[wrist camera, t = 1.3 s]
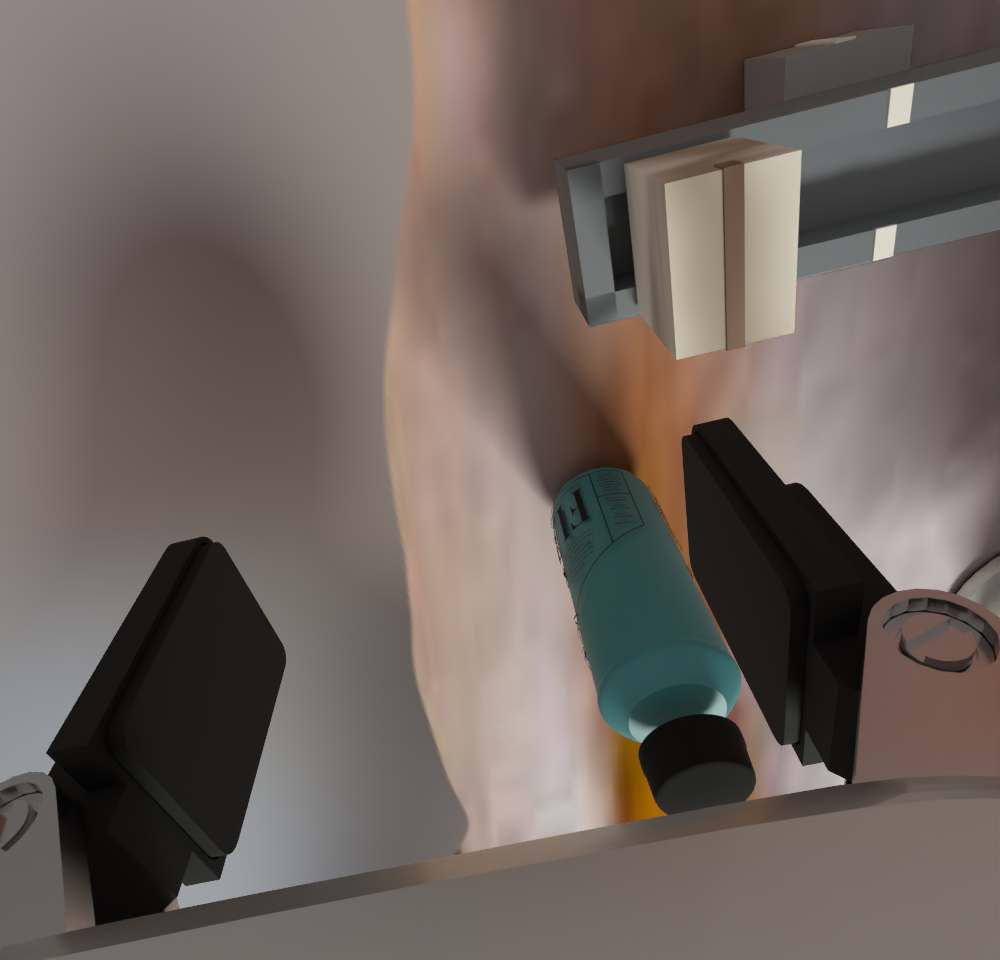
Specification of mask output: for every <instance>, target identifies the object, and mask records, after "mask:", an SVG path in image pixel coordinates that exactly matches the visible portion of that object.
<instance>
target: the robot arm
mask: <svg viewBox="0 0 1000 960" xmlns="http://www.w3.org/2000/svg"><path fill="white" fill-rule="evenodd" d="M682 455H683V470H684V484H685V499H686V513H687V528H688V542H689V556H690V563H691V567H692V571H693V574H694V576H695V579H696V581H697V583H698V585H699V587H700V589H701V591H702V593H703V595H704V597H705V599H706V601H707V603H708V605H709V607H710V609H711V611H712V613H713V615H714V617H715V619H716V621H717V623H718V625H719V627H720V629H721V631H722V633H723V635H724V637H725V639H726V641H727V643H728V645H729V647H730V649H731V651H732V653H733V655H734V657H735V659H736V661H737V663H738V665H739V667H740V669H741V671H742V673H743V675H744V677H745V679H746V681H747V683H748V685H749V687H750V689H751V691H752V693H753V695H754V697H755V699H756V701H757V703H758V705H759V707H760V709H761V711H762V713H763V715H764V717H765V719H766V721H767V723H768V725H769V727H770V729H771V731H772V733H773V735H774V737H775V739H776V740H777V742H778V743H779V744H780V745H787V744H791V745H792V746H793V748H794V750H795V752H796V754H797V756H798V758H799V760H800V762H801V764H802V766H805V765H811V764H816V763H821V762H824V764H825V766H826V767H827V769H828V771H830V772H832V773H834V774H836V775H838V776H841V777H843V778H845V783H844V785H838V786H832V787H826V788H821V789H815V790H809V791H803V792H797V793H791V794H785V795H779V796H773V797H767V798H761V799H755V800H750V801H744V802H738V803H732V804H726V805H720V806H714V807H708V808H703V809H698V810H692V811H687V812H682V813H676V814H671V815H666V816H660V817H655V818H650V819H644V820H639V821H634V822H628V823H623V824H617V825H612V826H607V827H601V828H596V829H591V830H585V831H580V832H575V833H569V834H564V835H559V836H553V837H548V838H543V839H537V840H532V841H527V842H521V843H516V844H511V845H505V846H500V847H495V848H490V849H485V850H479V851H474V852H469V853H464V854H459V855H453V856H448V857H443V858H438V859H433V860H427V861H422V862H417V863H412V864H406V865H401V866H396V867H391V868H386V869H380V870H375V871H370V872H365V873H360V874H355V875H350V876H344V877H339V878H334V879H329V880H324V881H319V882H314V883H308V884H303V885H298V886H293V887H288V888H283V889H278V890H272V891H267V892H263V893H257V894H252V895H247V896H242V897H238V898H232V899H227V900H222V901H217V902H212V903H207V904H202V905H197V906H192V907H187V908H182V909H179V906H178V901H177V898H176V897H177V896H178V893H179V890H180V887H181V884H182V883H183V884H184V885H185V886H188V885H193V884H198V883H203V882H209V881H214V880H219V879H220V877H221V874H222V870H223V867H224V863H225V859H226V856H227V854H230V853H232V852H233V851H234V849H235V847H236V845H237V842H238V839H239V836H240V832H241V828H242V825H243V820H244V817H245V814H246V810H247V806H248V802H249V798H250V795H251V791H252V787H253V784H254V780H255V777H256V773H257V769H258V765H259V761H260V758H261V754H262V750H263V746H264V743H265V739H266V736H267V732H268V728H269V725H270V721H271V717H272V714H273V710H274V706H275V702H276V698H277V695H278V691H279V688H280V684H281V680H282V676H283V672H284V669H285V665H286V654H285V649H284V647H283V644H282V643H281V641H280V639H279V638H278V636H277V634H276V633H275V631H274V629H273V628H272V626H271V624H270V623H269V621H268V619H267V618H266V616H265V614H264V613H263V611H262V609H261V608H260V606H259V604H258V603H257V601H256V599H255V598H254V596H253V594H252V592H251V591H250V589H249V587H248V586H247V585H246V583H245V581H244V579H243V577H242V576H241V574H240V573H239V571H238V569H237V568H236V566H235V564H234V562H233V561H232V559H231V558H230V556H229V555H228V553H227V551H226V549H225V548H224V546H223V545H222V544H220V543H218V542H215V543H213V542H212V540H210V539H209V538H207V537H199V538H195V539H191V540H186V541H181V542H177V543H173V544H171V545H169V546H168V547H167V549H166V550H165V552H164V554H163V555H162V557H161V559H160V560H159V562H158V564H157V566H156V567H155V569H154V571H153V572H152V574H151V576H150V577H149V579H148V581H147V583H146V584H145V586H144V588H143V589H142V591H141V593H140V594H139V596H138V598H137V599H136V601H135V603H134V604H133V606H132V608H131V610H130V611H129V613H128V615H127V616H126V618H125V620H124V622H123V623H122V625H121V627H120V628H119V630H118V632H117V633H116V635H115V637H114V638H113V640H112V642H111V644H110V645H109V647H108V649H107V650H106V652H105V654H104V655H103V657H102V659H101V661H100V662H99V664H98V666H97V667H96V669H95V671H94V672H93V674H92V676H91V678H90V679H89V681H88V683H87V684H86V686H85V688H84V690H83V691H82V693H81V695H80V696H79V698H78V700H77V702H76V703H75V705H74V706H73V708H72V710H71V712H70V713H69V715H68V717H67V718H66V720H65V722H64V724H63V725H62V727H61V729H60V730H59V732H58V734H57V735H56V737H55V739H54V740H53V742H52V744H51V745H50V747H49V749H48V751H47V752H46V753H47V754H48V755H49V756H50V757H51V758H52V759H53V760H54V761H55V764H54V765H53V767H52V769H51V771H50V773H49V774H48V775H46V774H45V773H43V772H28V773H25V774H21V775H18V776H14V777H12V778H10V779H8V780H6V781H4V782H2V783H0V960H1000V556H998V557H996V558H995V559H993V560H991V561H990V562H989V563H987V564H986V565H985V566H983V567H982V568H981V569H980V570H978V571H977V572H976V573H975V574H974V575H973V576H972V577H971V578H970V579H969V580H968V581H967V582H966V583H965V584H964V585H963V586H962V587H961V589H960V590H959V591H958V593H957V594H952V593H948V592H944V591H940V590H930V589H910V590H903V591H896V590H895V589H894V588H893V586H892V585H891V584H890V583H889V582H888V581H887V580H886V578H885V577H884V576H883V575H882V574H881V573H880V572H879V570H878V569H877V568H876V567H875V566H874V565H873V564H872V562H871V561H870V560H869V559H868V558H867V557H866V556H865V555H864V553H863V552H862V551H861V550H860V549H859V548H858V547H857V545H856V544H855V543H854V542H853V541H852V540H851V539H850V537H849V536H848V535H847V534H846V533H845V532H844V531H843V529H842V528H841V527H840V526H839V525H838V524H837V523H836V521H835V520H834V519H833V518H832V517H831V516H830V515H829V513H828V512H827V511H826V510H825V509H824V508H823V507H822V505H821V504H820V503H819V502H818V501H817V500H816V499H815V497H814V496H813V495H812V494H811V493H810V492H809V491H808V490H807V489H806V488H805V487H804V486H803V485H802V484H799V483H792V484H787V485H785V484H784V483H783V481H782V480H781V479H780V478H779V477H778V475H777V474H776V473H775V472H774V471H773V469H772V468H771V467H770V466H769V465H768V463H767V462H766V461H765V460H764V459H763V457H762V456H761V455H760V454H759V453H758V451H757V450H756V449H755V448H754V447H753V445H752V444H751V443H750V442H749V441H748V439H747V438H746V437H745V436H744V435H743V433H742V432H741V431H740V430H739V429H738V427H737V426H736V425H735V424H734V423H733V421H732V420H731V419H729V418H723V419H719V420H714V421H710V422H706V423H701V424H697V425H694V426H693V427H692V435H687V436H683V438H682Z"/></svg>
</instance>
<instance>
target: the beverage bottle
mask: <svg viewBox="0 0 1000 960" xmlns="http://www.w3.org/2000/svg"><path fill="white" fill-rule="evenodd" d="M648 486H649V485H648ZM651 493H652V492H651ZM651 493H650V491H649V489H648V488H647V486H646V485H645V484H644V483H643V482H642V481H641V480H640V479H639V478H637V477H636V476H635V475H633V474H632V473H630V472H628V471H625V470H623V469H619V468H613V467H602V468H595V469H591V470H588V471H585V472H583V473H581V474H579V475H577V476H575V477H574V478H572V479H571V480H570V481H568V482H567V483H566V484H565V485H564V486H563V487H562V489H561V490H560V492H559V493H558V495H557V497H556V500H555V502H554V504H553V505H554V508H553V507H552V508H553V516H552V517H553V528H555V531H554V534H555V532H556V536H557V538H556V536H555V537H554V538H555V539H554V540H556V539H557V540H558V542H557V541H556V542H555V544H557V543H558V545H559V547H558V546H557V547H556V548H557V549H559V548H560V550H559V552H561V553H560V554H561V556H560V557H559V560H560V561H561V557H562V560H563V566H564V568H563V569H564V573H563V574H564V576H565V578H566V580H567V581H568V583H567V582H566V583H567V584H568V585H569V586H568V588H570V593H571V596H572V600H573V604H574V608H575V612H576V615H575V617H576V616H577V621H578V622H577V623H576V622H575V623H576V624H577V627H578V625H579V628H580V629H579V628H578V630H580V632H581V636H582V640H583V643H582V644H583V645H584V647H583V649H584V648H585V651H584V653H585V657H588V659H587V660H588V661H589V664H590V667H589V668H591V669H590V670H591V672H592V676H593V680H594V684H595V687H596V691H597V695H598V706H599V710H600V713H601V715H602V717H603V719H604V720H605V722H606V723H607V724H608V725H609V726H610V727H611V728H612V729H613V730H615V731H616V732H618V733H619V734H621V735H623V736H625V737H627V738H629V739H631V740H634V741H636V742H639V743H641V746H640V748H639V760H640V764H641V767H642V770H643V773H644V775H645V777H646V778H647V781H648V783H649V786H650V789H651V792H652V794H653V797H654V800H655V802H656V803H657V805H658V807H659V808H660V809H661V810H662V811H663V812H665V813H666V814H668V815H671V814H676V813H682V812H687V811H692V810H698V809H703V808H708V807H714V806H720V805H726V804H732V803H738V802H744V801H745V800H746V799H747V798H748V797H749V796H750V795H751V793H752V792H753V790H754V787H755V784H756V778H755V772H754V769H753V766H752V763H751V761H750V758H749V755H748V752H747V748H746V743H745V741H744V738H743V736H742V733H741V731H740V729H739V727H738V726H737V725H736V724H735V723H734V722H733V721H731V720H729V719H728V718H726V717H727V715H728V714H729V712H730V711H731V710H732V708H733V706H734V705H735V703H736V701H737V698H738V696H739V693H740V690H741V674H740V670H739V668H738V665H737V664H736V662H735V660H734V659H733V657H732V656H731V655H730V653H729V651H728V649H727V647H726V645H725V643H724V641H723V639H722V637H721V635H720V633H719V631H718V629H717V627H716V625H715V623H714V621H713V619H712V617H711V615H710V613H709V611H708V609H707V607H706V605H705V603H704V601H703V599H702V597H701V595H700V593H699V591H698V589H697V587H696V585H695V583H694V581H693V578H692V577H691V576H692V575H690V574H692V573H689V572H690V571H688V570H689V569H688V567H687V565H686V563H685V561H684V559H683V557H682V555H681V553H680V551H679V549H678V547H677V545H676V543H675V541H674V539H675V538H674V539H673V537H674V536H675V534H674V536H673V537H672V535H673V534H672V535H671V533H672V532H671V533H670V531H671V530H672V528H671V530H670V531H669V529H670V528H669V529H668V527H669V525H668V524H667V525H668V527H667V525H666V523H667V522H668V521H667V520H665V521H667V522H666V523H665V521H664V519H665V518H666V517H665V516H664V515H665V514H664V513H663V514H661V513H662V512H663V511H662V509H661V508H659V509H661V510H660V511H662V512H661V513H660V511H659V509H658V507H660V505H659V506H658V507H657V505H658V504H657V502H658V501H657V502H656V503H655V501H656V500H655V501H654V499H655V498H656V497H655V498H654V499H653V497H654V496H653V497H652V495H653V494H652V495H651ZM656 504H657V505H656ZM551 512H552V511H551ZM662 515H663V517H665V518H664V519H663V517H662ZM666 519H667V518H666ZM551 525H552V522H551ZM673 533H674V532H673ZM553 536H554V535H553ZM677 544H678V541H677ZM679 546H680V545H679ZM681 550H682V548H681ZM557 552H558V550H557ZM559 552H558V556H559ZM560 564H561V562H560ZM690 570H691V569H690ZM575 617H574V619H575ZM580 632H579V634H580ZM581 636H580V638H581ZM578 637H579V636H578ZM581 642H582V641H581ZM581 650H582V649H581ZM586 654H587V656H586ZM585 657H584V658H585ZM585 660H586V659H585Z"/></svg>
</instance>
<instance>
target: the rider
mask: <svg viewBox="0 0 1000 960" xmlns="http://www.w3.org/2000/svg"><path fill="white" fill-rule="evenodd" d="M801 157H802V150H801V149H796V148H791V147H786V146H781V145H776V144H771V143H766V142H761V141H757V140H752V139H747V138H742V137H737V136H733V137H729V138H725V139H721V140H717V141H713V142H709V143H705V144H701V145H697V146H693V147H689V148H685V149H681V150H678V151H674V152H670V153H666V154H662V155H658V156H654V157H650V158H646V159H642V160H638V161H634V162H630V163H626V164H624V170H625V180H626V190H627V200H628V211H629V221H630V231H631V241H632V251H633V261H634V271H635V281H636V291H637V301H638V311H639V314H640V316H641V317H642V318H643V319H644V320H645V322H646V323H647V324H648V325H649V327H650V328H651V329H652V330H653V332H654V333H655V334H656V335H657V336H658V338H659V339H660V340H661V341H662V343H663V344H664V345H665V346H666V348H667V349H668V350H669V351H670V352H671V354H672V355H673V356H674V357H675V359H676V360H678V359H682V358H687V357H691V356H695V355H700V354H704V353H708V352H713V351H717V350H721V349H726V350H727V351H729V350H733V349H737V348H741V347H745V344H747V343H751V342H756V341H760V340H764V339H769V338H773V337H777V336H782V335H786V334H790V333H794V327H795V303H796V279H797V254H798V230H799V205H800V181H801Z"/></svg>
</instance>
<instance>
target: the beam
mask: <svg viewBox="0 0 1000 960" xmlns="http://www.w3.org/2000/svg"><path fill="white" fill-rule="evenodd" d="M914 30H915V24H909V25H900V26H892V27H883V28H874V29H865V30H857V31H853V32H850V33H846V34H842V35H838V36H834V37H830V38H826V39H818V40H811V41H807V42H804V43H800V44H796V45H795V47H791V48H788V49H784V50H780V51H776V52H772V53H768V54H764V55H760V56H757V57H753V58H749V59H745V60H744V101H745V111H743V112H739V113H735V114H731V115H728V116H724V117H720V118H716V119H712V120H708V121H704V122H700V123H696V124H692V125H688V126H684V127H680V128H676V129H672V130H668V131H664V132H660V133H656V134H653V135H649V136H645V137H641V138H637V139H633V140H629V141H625V142H621V143H617V144H613V145H609V146H605V147H601V148H597V149H593V150H589V151H585V152H581V153H577V154H574V155H570V156H566V157H562V158H558V159H554V160H553V164H554V170H555V177H556V183H557V189H558V196H559V202H560V209H561V215H562V222H563V228H564V235H565V241H566V247H567V254H568V260H569V267H570V273H571V280H572V286H573V293H574V299H575V302H576V304H577V306H578V307H579V309H580V311H581V313H582V314H583V316H584V318H585V320H586V321H587V323H588V325H589V327H592V326H596V325H600V324H605V323H609V322H613V321H617V320H622V319H626V318H630V317H634V316H638V315H640V314H639V311H638V301H637V291H636V281H635V271H634V261H633V251H632V241H631V231H630V221H629V211H628V200H627V190H626V180H625V170H624V164H626V163H630V162H634V161H638V160H642V159H646V158H650V157H654V156H658V155H662V154H666V153H670V152H674V151H678V150H681V149H685V148H689V147H693V146H697V145H701V144H705V143H709V142H713V141H717V140H721V139H725V138H729V137H733V136H737V137H742V138H747V139H752V140H757V141H761V142H766V143H771V144H776V145H781V146H786V147H791V148H796V149H801V150H802V157H801V181H800V205H799V230H798V254H797V279H796V280H800V279H804V278H808V277H812V276H816V275H821V274H825V273H829V272H833V271H838V270H842V269H846V268H850V267H854V266H859V265H863V264H867V263H871V262H876V261H880V260H884V259H887V258H888V257H893V255H896V254H900V253H904V252H909V251H913V250H917V249H921V248H925V247H930V246H934V245H938V244H942V243H947V242H951V241H955V240H959V239H963V238H968V237H972V236H976V235H980V234H985V233H989V232H993V231H997V230H1000V47H996V48H992V49H988V50H984V51H980V52H976V53H972V54H968V55H964V56H960V57H956V58H953V59H949V60H945V61H941V62H937V63H933V64H929V65H925V66H921V67H917V68H913V69H910V64H911V55H912V47H913V38H914Z"/></svg>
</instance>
